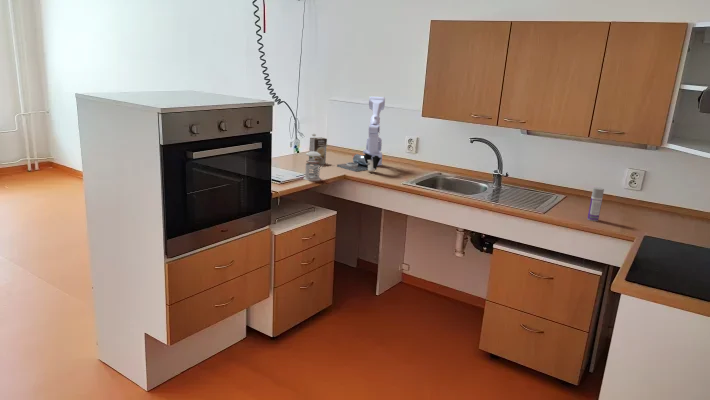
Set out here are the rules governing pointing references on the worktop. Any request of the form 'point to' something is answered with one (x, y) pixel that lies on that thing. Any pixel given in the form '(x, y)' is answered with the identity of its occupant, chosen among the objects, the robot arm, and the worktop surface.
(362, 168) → the motor mount
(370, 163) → the white mushroom knob
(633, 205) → the worktop surface
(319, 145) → the coffee box
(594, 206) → the container
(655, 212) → the worktop surface
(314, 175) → the french press
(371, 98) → the robot arm
